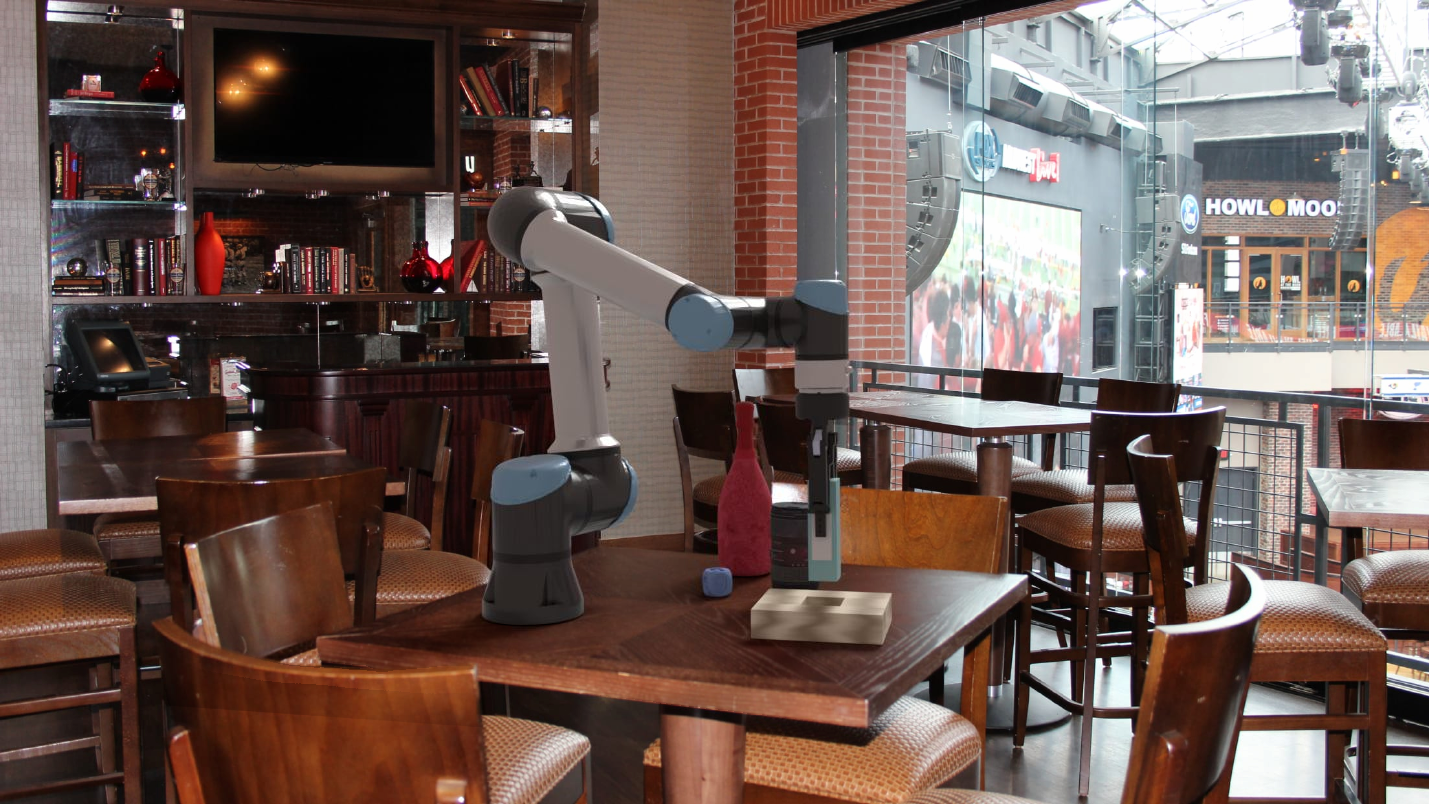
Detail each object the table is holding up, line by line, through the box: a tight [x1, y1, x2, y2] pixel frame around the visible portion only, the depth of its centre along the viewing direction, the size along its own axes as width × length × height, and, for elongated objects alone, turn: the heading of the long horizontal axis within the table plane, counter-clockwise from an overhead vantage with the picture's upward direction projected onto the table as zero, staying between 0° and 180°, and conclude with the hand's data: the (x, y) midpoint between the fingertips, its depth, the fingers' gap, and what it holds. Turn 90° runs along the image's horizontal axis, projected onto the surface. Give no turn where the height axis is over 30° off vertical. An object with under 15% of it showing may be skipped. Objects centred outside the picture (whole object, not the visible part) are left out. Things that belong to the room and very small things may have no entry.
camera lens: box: [769, 501, 821, 590], centre depth 193 cm, size 8×8×15 cm
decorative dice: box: [702, 567, 733, 598], centre depth 197 cm, size 4×4×4 cm
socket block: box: [750, 588, 893, 645], centre depth 173 cm, size 18×14×4 cm
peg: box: [806, 477, 842, 582], centre depth 172 cm, size 4×4×14 cm
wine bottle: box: [717, 400, 774, 577], centre depth 214 cm, size 10×10×30 cm
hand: (824, 556), depth 173 cm, fingers closed on peg, 4 cm apart
